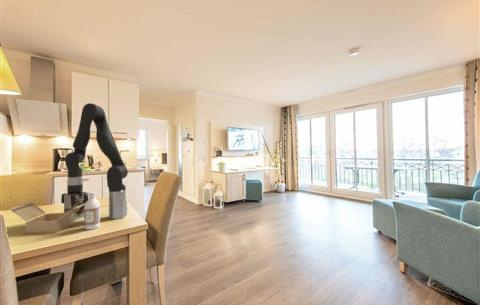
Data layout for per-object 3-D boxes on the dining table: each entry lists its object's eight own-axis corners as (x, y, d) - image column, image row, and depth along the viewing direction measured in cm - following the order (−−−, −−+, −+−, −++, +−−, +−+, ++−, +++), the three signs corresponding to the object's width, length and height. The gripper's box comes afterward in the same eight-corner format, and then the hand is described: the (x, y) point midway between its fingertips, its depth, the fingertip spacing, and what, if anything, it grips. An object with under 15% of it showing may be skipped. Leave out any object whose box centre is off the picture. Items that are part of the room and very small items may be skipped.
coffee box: (72, 221, 121) (71, 194, 121) (63, 220, 122) (63, 194, 122) (86, 216, 130) (86, 191, 129) (78, 215, 131) (78, 191, 131)
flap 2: (58, 218, 106) (75, 207, 107) (73, 211, 118) (88, 201, 119) (58, 219, 106) (76, 208, 107) (74, 212, 118) (89, 202, 119)
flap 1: (45, 212, 115) (30, 201, 114) (26, 220, 103) (9, 207, 102) (45, 213, 115) (30, 202, 114) (25, 220, 103) (8, 208, 102)
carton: (74, 222, 119) (74, 212, 119) (56, 232, 105) (56, 220, 105) (47, 223, 116) (47, 213, 116) (25, 233, 103) (25, 222, 102)
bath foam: (81, 230, 107) (81, 193, 107) (88, 225, 114) (88, 191, 114) (96, 229, 109) (96, 193, 108) (102, 224, 115) (102, 190, 115)
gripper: (91, 182, 130) (91, 207, 131) (66, 183, 128) (66, 208, 128) (84, 184, 123) (84, 210, 123) (57, 185, 121) (58, 211, 121)
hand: (75, 209), depth 126 cm, fingers closed on coffee box, 7 cm apart
